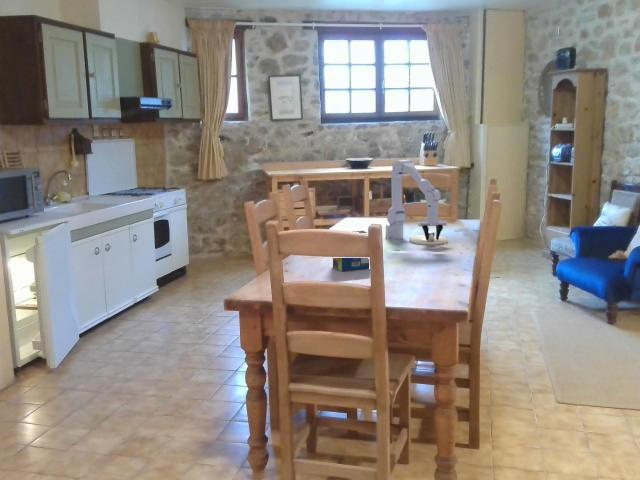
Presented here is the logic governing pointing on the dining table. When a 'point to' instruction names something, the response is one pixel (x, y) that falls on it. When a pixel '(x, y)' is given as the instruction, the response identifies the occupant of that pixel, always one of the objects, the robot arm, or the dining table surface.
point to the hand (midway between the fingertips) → (432, 239)
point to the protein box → (351, 262)
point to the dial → (431, 239)
